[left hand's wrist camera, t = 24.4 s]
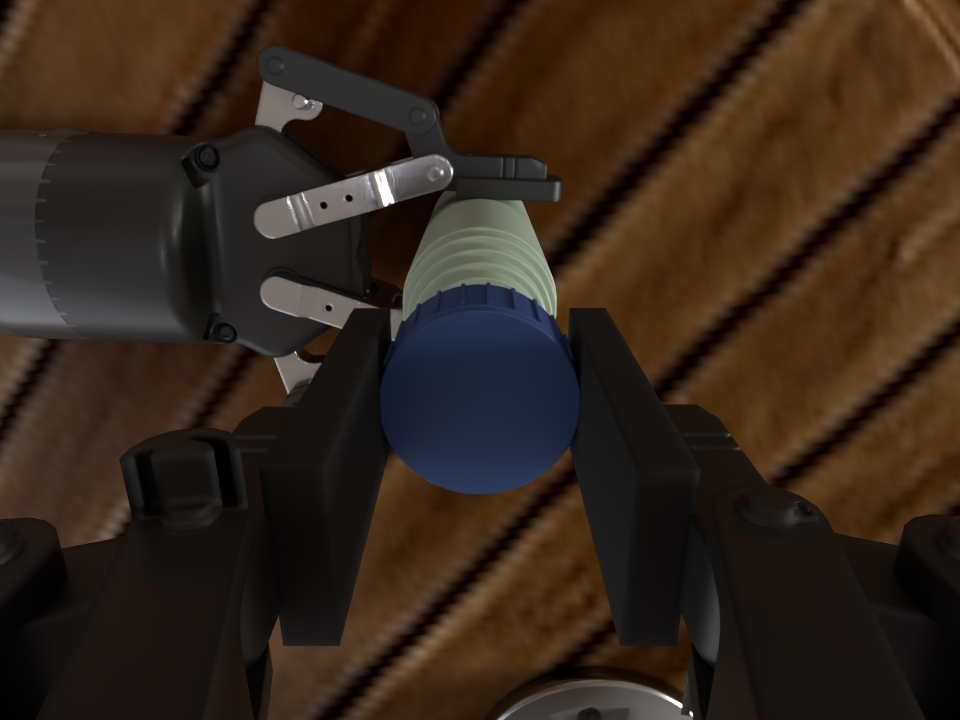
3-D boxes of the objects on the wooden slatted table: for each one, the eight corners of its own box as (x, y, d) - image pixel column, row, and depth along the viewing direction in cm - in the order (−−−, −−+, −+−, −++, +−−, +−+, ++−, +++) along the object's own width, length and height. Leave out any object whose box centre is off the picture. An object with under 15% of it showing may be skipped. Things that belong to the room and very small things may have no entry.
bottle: (508, 160, 30) (548, 249, 12) (539, 252, 31) (614, 443, 14) (417, 196, 30) (335, 328, 13) (452, 284, 32) (421, 506, 15)
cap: (350, 374, 14) (333, 412, 13) (474, 241, 13) (473, 263, 12) (484, 482, 15) (485, 531, 14) (609, 365, 14) (627, 402, 13)
